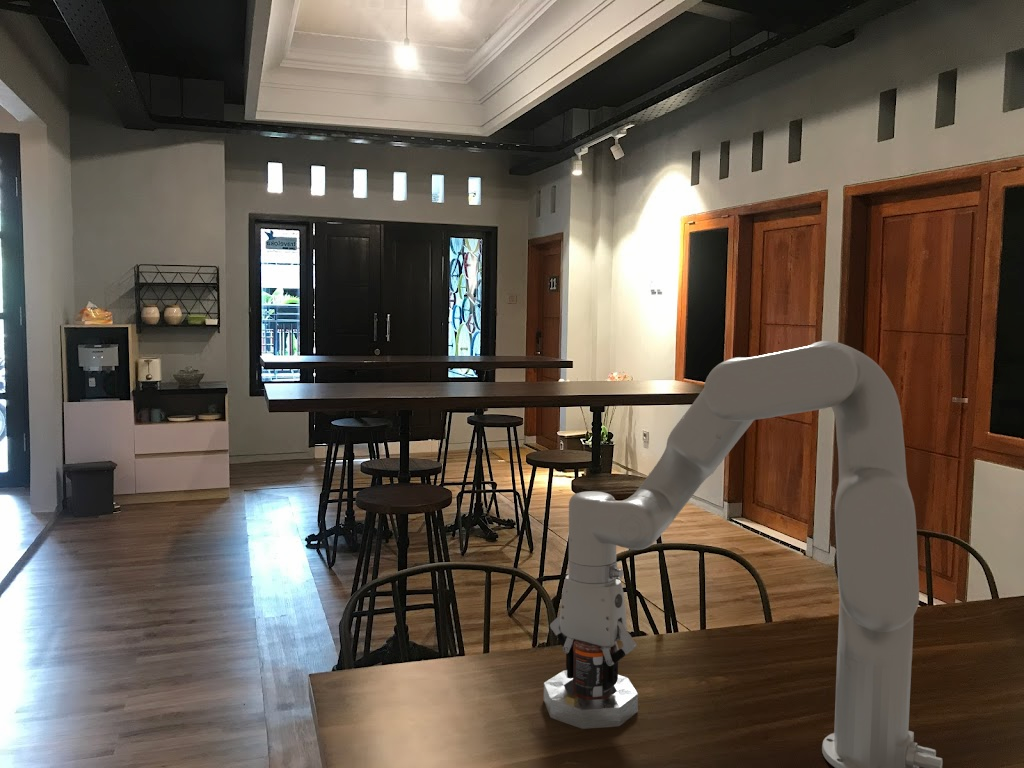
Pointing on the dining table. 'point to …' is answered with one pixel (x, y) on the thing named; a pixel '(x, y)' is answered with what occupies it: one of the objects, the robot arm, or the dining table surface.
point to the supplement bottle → (588, 671)
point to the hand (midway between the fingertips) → (591, 679)
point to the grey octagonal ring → (590, 703)
